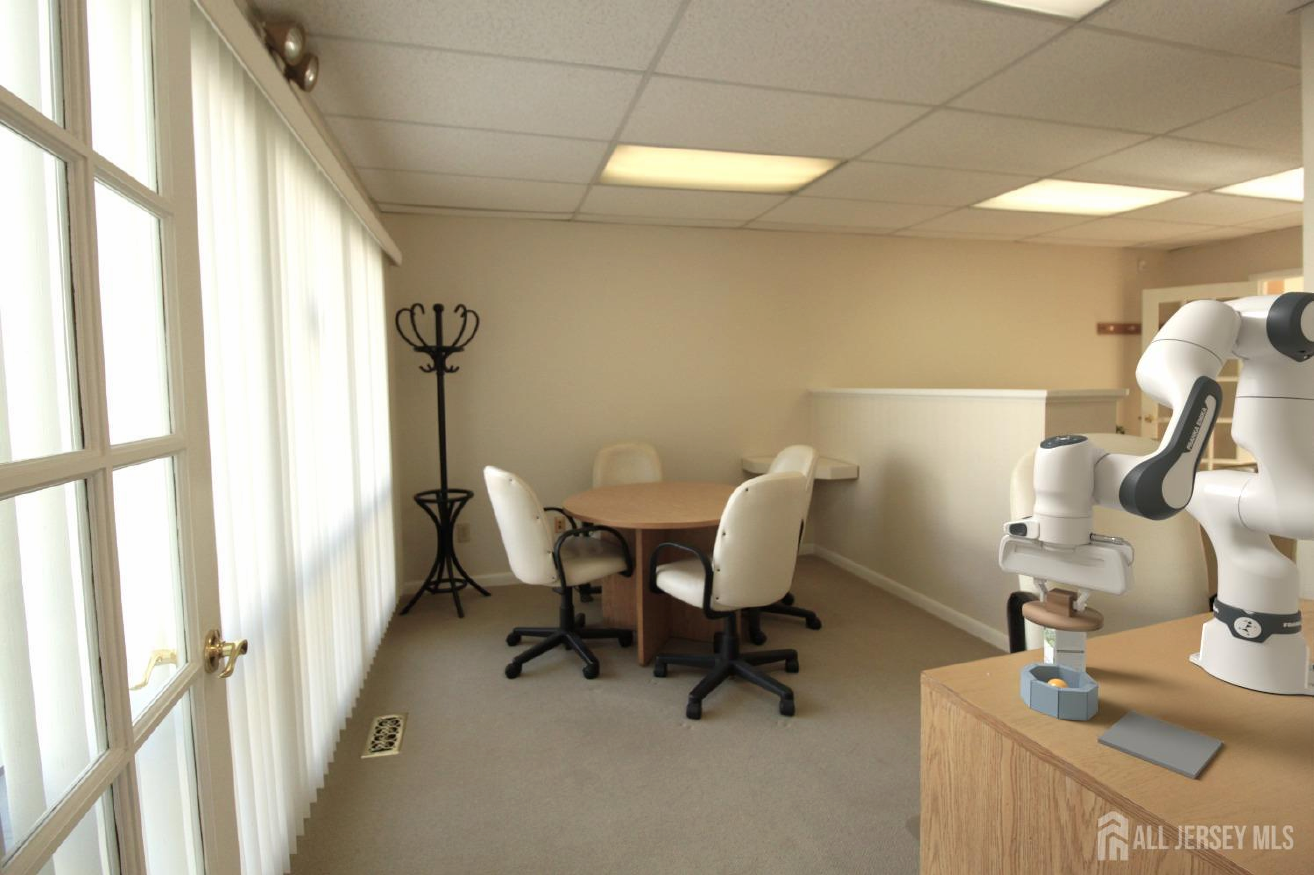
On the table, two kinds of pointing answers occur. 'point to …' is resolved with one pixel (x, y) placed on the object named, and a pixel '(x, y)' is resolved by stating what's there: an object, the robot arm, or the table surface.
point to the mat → (1162, 743)
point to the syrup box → (1065, 648)
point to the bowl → (1059, 691)
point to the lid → (1062, 613)
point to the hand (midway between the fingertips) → (1061, 606)
